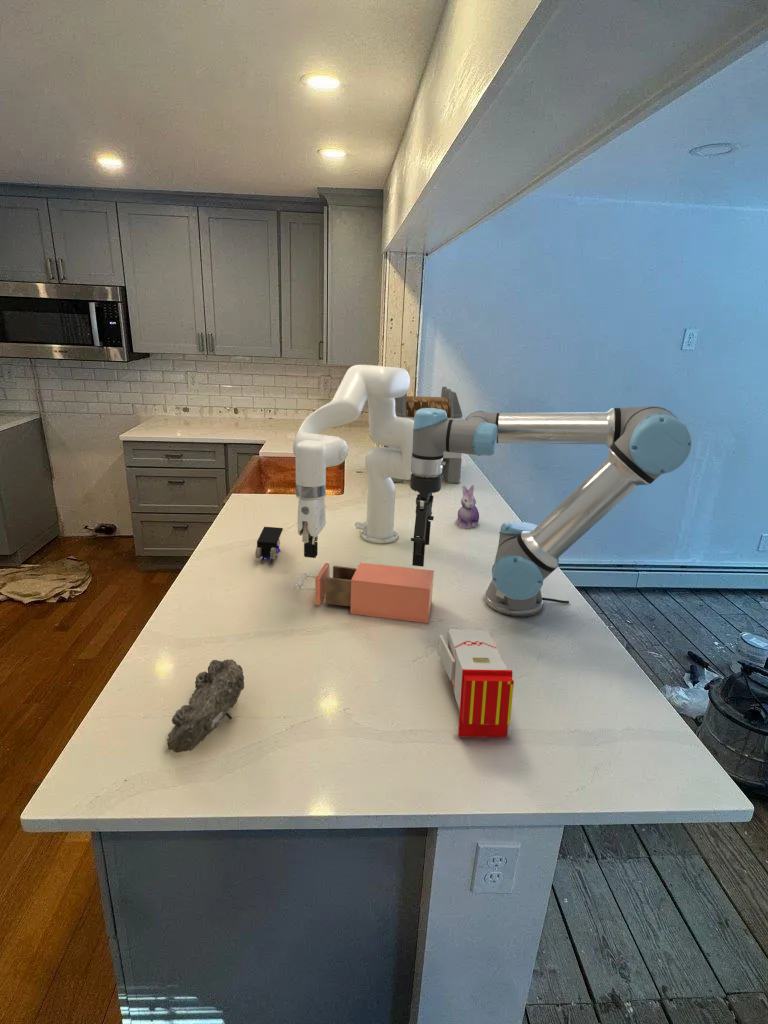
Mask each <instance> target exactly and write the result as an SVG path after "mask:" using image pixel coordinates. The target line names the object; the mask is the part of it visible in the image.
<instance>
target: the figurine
mask: <svg viewBox="0 0 768 1024" xmlns="http://www.w3.org/2000/svg"><path fill="white" fill-rule="evenodd" d="M474 490H475V485H474V484H472V485H471V486H470V487H469V489H468V488H467V487H466V485H462V497H461V500H460V503H461V507H460V508H459V509H458V510H457V519H456V524H457V525H458V526H459V528H462V529H463V528H464V529H472V528H475V527H477V526H478V525H479V520H480V513H479V509H478V508H477V506H476V504H477V500H476V497H475V495H474V492H475V491H474Z"/></svg>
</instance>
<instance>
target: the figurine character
mask: <svg viewBox="0 0 768 1024" xmlns="http://www.w3.org/2000/svg"><path fill="white" fill-rule="evenodd" d="M283 529H284V528H283V527H276V526H275V527H274V526H263V528H262V530H261V532H260V535H259V537H258V539H257V541H256V548H255V552H254V558H255V559H256V560H260V564H263V563H264V561H265V560H270V561H269V564H272V563H273V562H274V560H275V559H276V558H277V557H278V554H279V553H280V552H281V549H280V546H281V539H280V538H281V535H282V533H283V531H284V530H283Z"/></svg>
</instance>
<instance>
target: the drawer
mask: <svg viewBox="0 0 768 1024" xmlns="http://www.w3.org/2000/svg"><path fill="white" fill-rule="evenodd" d="M357 568H358V567H349V566H339V565H333V566H332V577H330V562H324V564H323V565H322V567H321V569H320V570H319V571H318V573H317V575H314V574H309V573H308V572H303V574H302V575H301V576H300V578H299V579H298V580H297V582H296V583H295V585H294V586H293V589H294V591H300V590H305V591H311V592H315V596H314V597H315V601H314V602H315V603H314V604H315V606H321V604H322V603H323V601H324V599H325V604H327V605H335V606H344V607H350V608H351V579H352V577H353V575H354V573H355V571H356V569H357ZM308 578H310V579H315V585H314V586H315V587H311V586H310V587H309V586H303V585H304V583H305V582H306V580H307V579H308Z"/></svg>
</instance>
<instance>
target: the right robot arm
mask: <svg viewBox="0 0 768 1024" xmlns="http://www.w3.org/2000/svg"><path fill="white" fill-rule="evenodd" d="M464 420H465V421H459V420H450V419H447V413H446V411H444V410H442V409H436V408H422V409H419V410H417V411H416V413H415V419H414V427H413V448H412V458H411V472H412V474H411V479H410V480H409V482H410V483H409V484H410V485H409V487H410V489H411V490H412V491H413V492H416V493H417V495H416V498H415V521H414V530H413V537H411V538H410V542H413V546H412V547H413V548H412V561H411V562H412V564H411V565H412V566H413V567H422V568H423V567H424V565H425V554H426V551H425V550H426V546H429V545H430V538H431V527H432V526H431V525H432V521H434V518H435V517H434V515H433V512H432V509H433V504H434V503H433V502H434V495H433V494H434V493H439V492H440V491H441V489H442V483H443V481H442V480H443V476H442V474H441V473H442V465H443V466H444V465H445V462H444V461H442V460H443V455H444V454H443V453H444V451H446V452H454V453H461V454H463V455H464V454H465V455H472V456H477V457H482V456H484V457H485V456H487V457H488V456H493V455H495V453H496V449H497V444H534V445H535V444H537V445H538V444H542V445H544V444H545V445H546V444H547V445H548V444H549V445H550V444H551V445H605V446H606V447H607V448H608V457H607V458H606V460H605V461H603V463H601V464H600V465H599V467H598V468H596V469H595V470H594V471H593V472H592V473H591V474H590V475H589V476H588V477H587V478H586V479H585V480H584V481H583V482H582V483H581V484H580V485H578V487H577V488H575V490H573V491H572V493H570V494H569V495H568V496H567V497H566V498H565V499H564V500H563V501H562V502H561V503H560V504H559V505H557V507H556V508H554V510H553V511H551V512H550V514H548V515H547V516H546V517H545V518H544V519H543V520H542V521H541V522H540V523H539V524H535V523H531V522H525V521H505V522H504V523H502V524H501V525H500V529H499V532H498V534H499V536H498V537H499V538H498V543H497V544H498V545H497V550H496V554H495V559H494V562H493V565H492V568H491V575H492V579H491V581H490V582H489V585H488V587H487V589H486V591H485V598H484V601H485V603H486V605H487V606H488V607H489V608H490V609H492V610H493V611H494V612H497V613H499V614H502V615H505V616H510V617H516V618H525V617H532V616H535V615H537V614H539V613H540V612H541V611H542V609H543V601H547V602H554V603H558V604H569V603H570V601H569V600H561V599H556V598H551V597H544V596H542V591H541V589H542V587H543V585H544V580H545V579H546V578H548V577H549V576H550V575H551V574H552V573H553V572H554V571H555V570H557V569H558V568H559V565H560V563H559V560H560V559H559V558H560V557H561V556H562V555H563V554H564V553H565V552H566V551H568V550H569V549H570V548H571V547H572V546H573V545H574V544H576V542H578V541H579V540H580V539H581V538H582V537H583V536H585V534H586V533H587V532H589V531H590V529H592V528H593V527H594V526H595V525H596V524H597V523H599V521H601V520H602V519H603V518H604V517H605V516H606V515H607V514H608V513H609V512H610V511H612V510H613V509H614V508H615V507H616V506H617V505H618V504H620V502H622V500H624V499H625V498H626V497H627V496H629V495H630V493H632V491H634V490H635V489H636V488H637V487H638V486H650V485H651V484H652V483H653V482H654V481H655V480H657V479H658V478H659V477H660V476H661V475H664V474H669V473H672V472H674V471H676V470H677V469H679V468H681V466H683V464H684V463H685V462H686V461H687V460H688V458H689V456H690V454H691V451H692V446H693V441H692V440H693V439H692V434H691V432H690V430H689V427H687V425H686V423H685V422H684V421H683V420H682V419H681V418H679V417H678V416H676V415H675V414H674V413H673V412H671V411H670V410H668V409H667V408H664V407H661V406H655V405H645V406H629V407H612V408H610V409H609V410H608V411H603V412H602V411H599V412H598V411H596V412H594V411H593V412H592V411H591V412H587V411H586V412H585V411H584V412H582V411H581V412H575V411H574V412H573V411H572V412H487V411H485V410H476V411H473V412H471V413H469V414H468V415H467V416H466V417H465V418H464Z"/></svg>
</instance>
